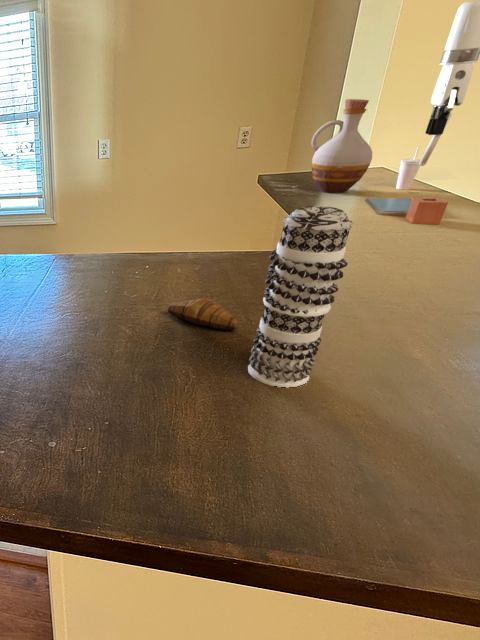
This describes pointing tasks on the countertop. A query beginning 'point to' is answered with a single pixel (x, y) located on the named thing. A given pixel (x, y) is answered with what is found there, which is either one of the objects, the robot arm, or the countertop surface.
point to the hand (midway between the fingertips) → (433, 133)
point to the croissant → (204, 313)
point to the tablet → (390, 205)
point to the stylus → (431, 147)
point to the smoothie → (407, 172)
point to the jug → (342, 152)
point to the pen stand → (426, 210)
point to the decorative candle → (299, 294)
